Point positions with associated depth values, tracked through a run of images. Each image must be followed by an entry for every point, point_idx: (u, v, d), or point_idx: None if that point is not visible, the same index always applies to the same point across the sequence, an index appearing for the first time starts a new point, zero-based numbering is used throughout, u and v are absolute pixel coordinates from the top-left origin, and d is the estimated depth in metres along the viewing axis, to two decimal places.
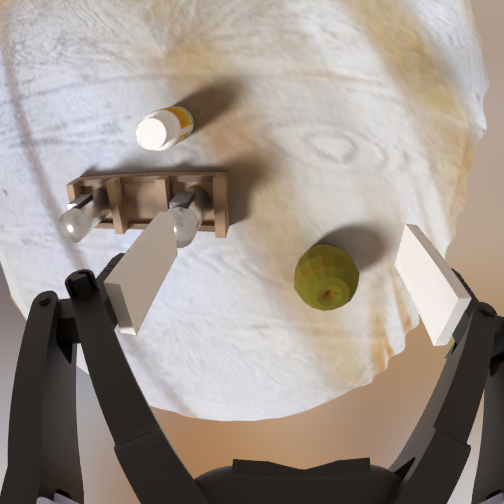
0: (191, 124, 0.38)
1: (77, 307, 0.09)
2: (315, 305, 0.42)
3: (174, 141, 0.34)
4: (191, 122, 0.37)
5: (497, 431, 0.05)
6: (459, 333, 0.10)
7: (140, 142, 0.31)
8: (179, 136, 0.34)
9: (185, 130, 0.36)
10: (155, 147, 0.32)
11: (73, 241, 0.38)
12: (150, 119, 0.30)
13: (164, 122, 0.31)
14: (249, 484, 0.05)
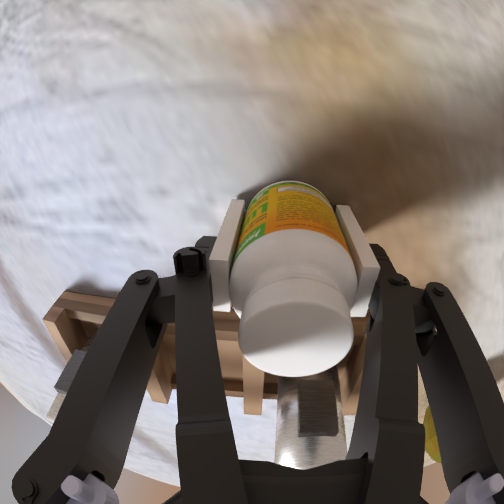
0: None
1: (180, 282, 0.11)
2: None
3: None
4: None
5: (449, 413, 0.07)
6: (372, 308, 0.11)
7: (252, 359, 0.10)
8: None
9: None
10: (303, 373, 0.10)
11: None
12: (305, 307, 0.09)
13: (346, 309, 0.09)
14: (249, 484, 0.05)
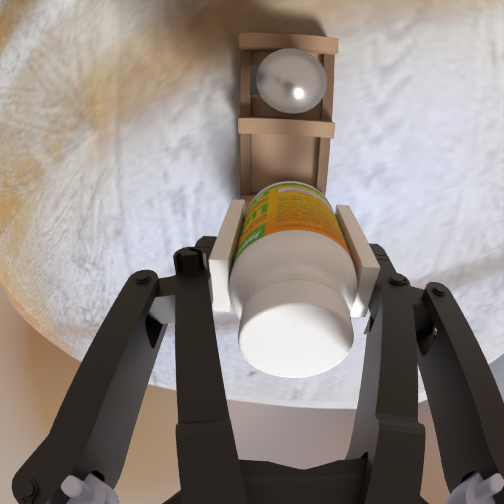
0: None
1: (180, 281, 0.11)
2: None
3: None
4: None
5: (449, 413, 0.07)
6: (372, 308, 0.11)
7: (252, 360, 0.10)
8: None
9: None
10: (303, 374, 0.10)
11: None
12: (305, 308, 0.09)
13: (346, 310, 0.09)
14: (249, 484, 0.05)
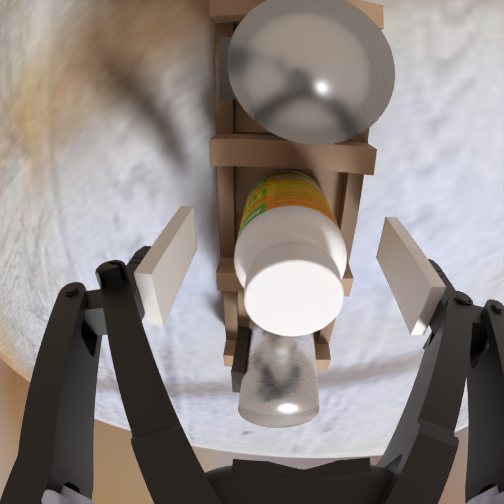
0: None
1: (106, 297, 0.10)
2: None
3: None
4: None
5: (484, 424, 0.06)
6: (435, 323, 0.10)
7: (256, 318, 0.12)
8: None
9: None
10: (300, 332, 0.12)
11: (314, 412, 0.15)
12: (301, 264, 0.10)
13: (336, 270, 0.11)
14: (249, 484, 0.05)
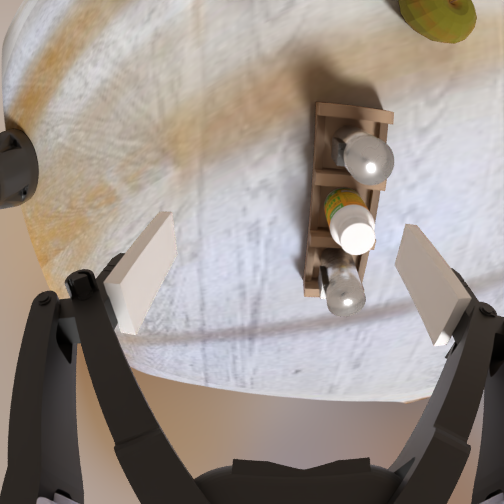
0: None
1: (77, 307, 0.09)
2: (469, 19, 0.16)
3: None
4: None
5: (497, 431, 0.05)
6: (459, 333, 0.10)
7: (343, 246, 0.31)
8: None
9: None
10: (359, 253, 0.31)
11: (363, 303, 0.34)
12: (361, 224, 0.29)
13: (372, 227, 0.30)
14: (249, 484, 0.05)
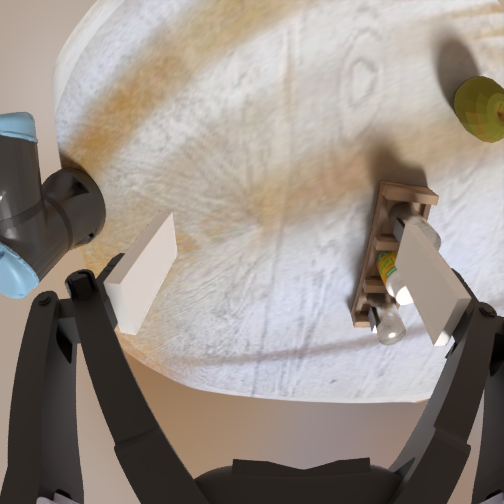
0: None
1: (77, 307, 0.09)
2: None
3: None
4: None
5: (497, 431, 0.05)
6: (459, 333, 0.10)
7: (397, 299, 0.40)
8: None
9: None
10: (407, 303, 0.40)
11: (403, 335, 0.43)
12: None
13: None
14: (249, 484, 0.05)
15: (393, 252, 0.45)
